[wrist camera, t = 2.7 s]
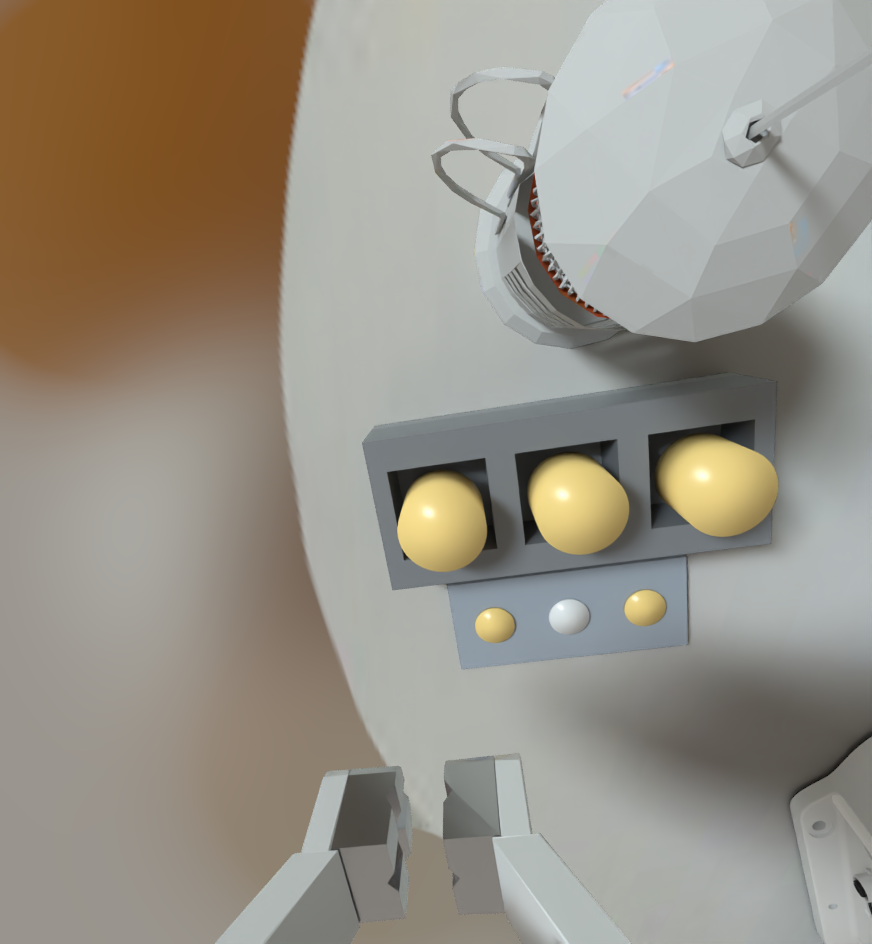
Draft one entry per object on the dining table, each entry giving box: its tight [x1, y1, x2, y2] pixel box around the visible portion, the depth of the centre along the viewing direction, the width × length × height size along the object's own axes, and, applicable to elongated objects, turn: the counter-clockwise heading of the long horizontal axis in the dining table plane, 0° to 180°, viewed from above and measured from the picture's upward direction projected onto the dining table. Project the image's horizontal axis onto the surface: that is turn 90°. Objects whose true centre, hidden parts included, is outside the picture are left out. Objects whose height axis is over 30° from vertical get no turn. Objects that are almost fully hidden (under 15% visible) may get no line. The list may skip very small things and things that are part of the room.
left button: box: [397, 469, 487, 572], centre depth 23 cm, size 4×4×3 cm
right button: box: [654, 433, 778, 537], centre depth 22 cm, size 4×4×3 cm
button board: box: [362, 373, 777, 669], centre depth 27 cm, size 16×19×4 cm
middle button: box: [527, 451, 629, 555], centre depth 23 cm, size 4×4×3 cm
